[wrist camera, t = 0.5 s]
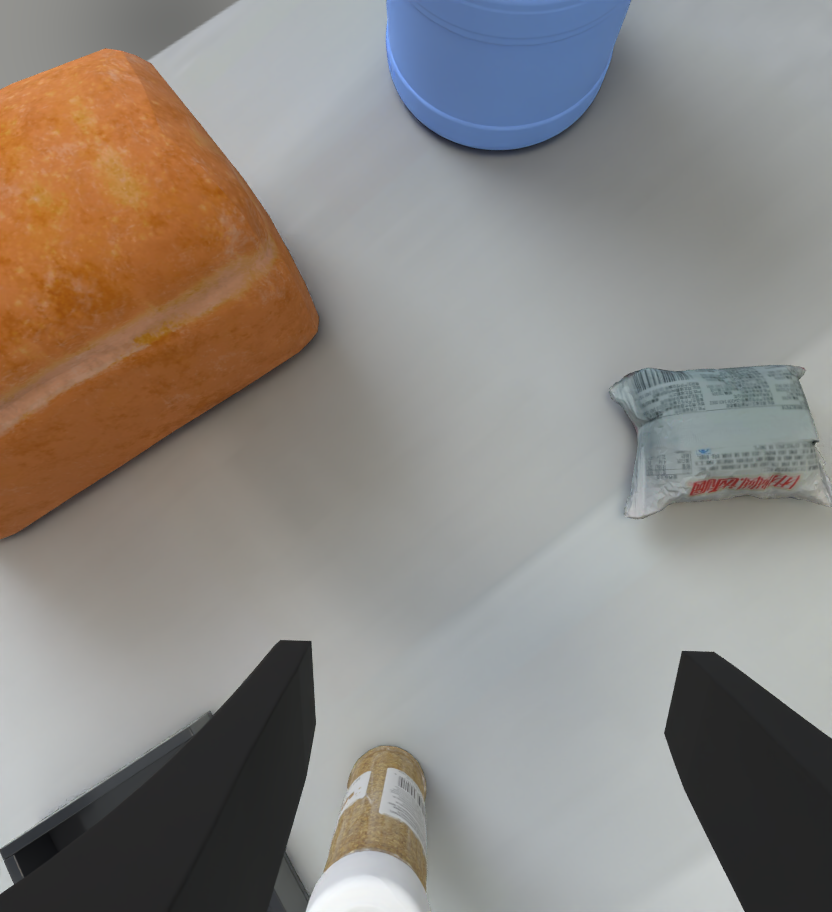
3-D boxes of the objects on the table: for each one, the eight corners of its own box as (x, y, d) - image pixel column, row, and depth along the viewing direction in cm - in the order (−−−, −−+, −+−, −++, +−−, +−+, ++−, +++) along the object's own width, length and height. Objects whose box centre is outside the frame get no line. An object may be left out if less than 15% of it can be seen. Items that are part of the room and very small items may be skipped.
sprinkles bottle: (338, 758, 32) (279, 904, 18) (413, 732, 32) (408, 859, 19) (361, 841, 31) (316, 1057, 18) (438, 815, 31) (450, 1008, 18)
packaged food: (805, 510, 34) (869, 501, 29) (614, 520, 34) (646, 513, 29) (779, 376, 36) (836, 347, 31) (597, 386, 36) (625, 359, 31)
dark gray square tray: (324, 926, 30) (314, 966, 27) (144, 1053, 29) (113, 1109, 26) (210, 710, 32) (188, 726, 29) (38, 822, 31) (-2, 850, 28)
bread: (-109, 389, 36) (-514, 264, 20) (233, 186, 38) (105, -66, 23) (-15, 566, 34) (-387, 577, 18) (340, 339, 36) (280, 177, 21)
